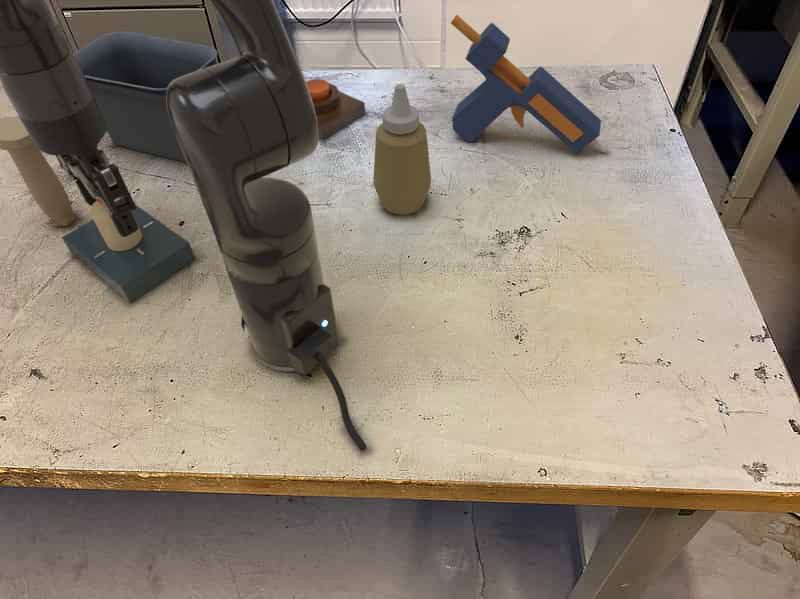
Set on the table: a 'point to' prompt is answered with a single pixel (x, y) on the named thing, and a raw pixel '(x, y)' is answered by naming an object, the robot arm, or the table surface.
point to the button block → (336, 112)
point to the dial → (112, 229)
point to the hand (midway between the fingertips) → (112, 216)
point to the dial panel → (132, 255)
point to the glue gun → (519, 94)
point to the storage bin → (139, 86)
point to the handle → (36, 172)
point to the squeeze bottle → (401, 157)
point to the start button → (318, 89)
